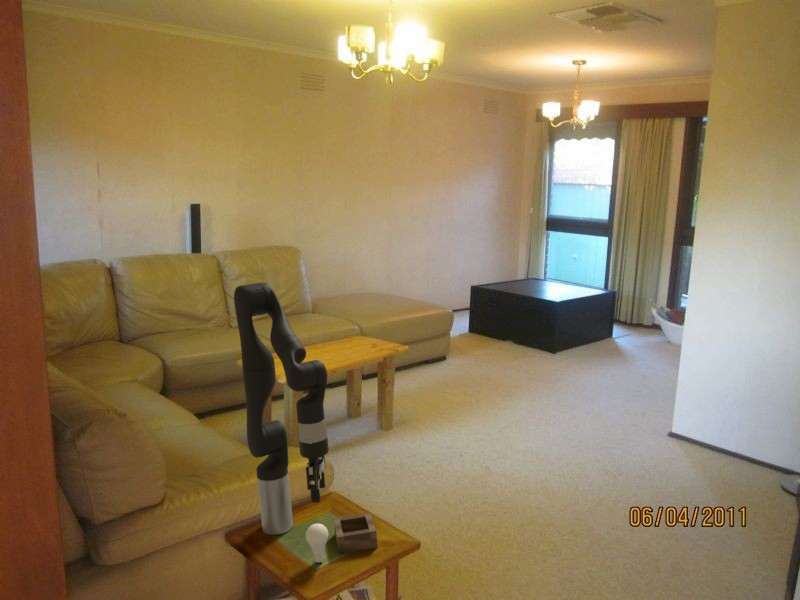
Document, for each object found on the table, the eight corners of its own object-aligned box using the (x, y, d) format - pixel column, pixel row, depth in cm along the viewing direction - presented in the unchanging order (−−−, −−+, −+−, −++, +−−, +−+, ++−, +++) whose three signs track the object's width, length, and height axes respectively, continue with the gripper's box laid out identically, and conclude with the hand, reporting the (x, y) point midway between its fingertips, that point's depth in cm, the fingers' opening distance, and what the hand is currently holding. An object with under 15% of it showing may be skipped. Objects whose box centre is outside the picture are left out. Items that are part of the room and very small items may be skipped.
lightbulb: (320, 553, 182) (316, 517, 180) (335, 560, 178) (332, 523, 176) (303, 563, 177) (300, 526, 175) (319, 571, 173) (315, 532, 171)
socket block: (334, 534, 191) (333, 518, 191) (371, 528, 193) (370, 513, 193) (338, 554, 181) (337, 537, 180) (377, 547, 183) (376, 531, 182)
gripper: (303, 428, 177) (309, 484, 180) (293, 447, 163) (299, 507, 166) (331, 426, 177) (336, 482, 179) (322, 445, 163) (328, 506, 165)
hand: (318, 494), depth 172 cm, fingers open, 8 cm apart
